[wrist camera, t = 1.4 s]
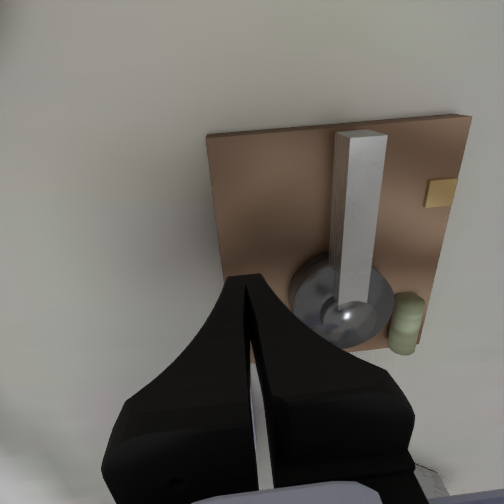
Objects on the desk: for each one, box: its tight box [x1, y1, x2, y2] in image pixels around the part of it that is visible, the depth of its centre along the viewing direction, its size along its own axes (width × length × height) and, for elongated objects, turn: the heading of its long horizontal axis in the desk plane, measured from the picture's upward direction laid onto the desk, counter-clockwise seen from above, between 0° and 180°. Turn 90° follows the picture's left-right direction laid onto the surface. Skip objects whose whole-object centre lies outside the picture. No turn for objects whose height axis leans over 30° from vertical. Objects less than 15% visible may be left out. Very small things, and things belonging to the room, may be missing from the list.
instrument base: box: [206, 114, 472, 363], centre depth 20 cm, size 16×14×3 cm
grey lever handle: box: [288, 129, 395, 349], centre depth 18 cm, size 13×6×3 cm, turn 4°
